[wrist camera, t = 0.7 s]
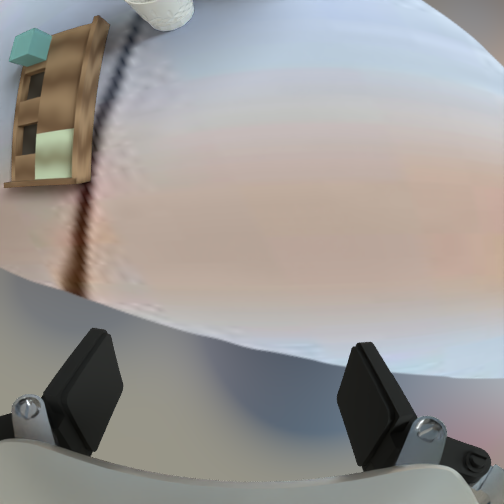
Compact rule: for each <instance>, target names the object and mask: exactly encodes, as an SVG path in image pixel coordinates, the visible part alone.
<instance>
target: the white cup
mask: <svg viewBox="0 0 504 504" xmlns="http://www.w3.org/2000/svg"><path fill="white" fill-rule="evenodd" d="M125 1H126V2H127V3H128V4H129V5H130V6H131V7H132V8H133V9H134V10H135V12H136V13H137V14H139V15H140V16H141V17H142V18H143V19H144V20H145V21H147V22H148V23H149V24H150V25H151V26H152V27H153V28H154V29H156V30H160V31H171V30H175V29H177V28H179V27H182V26H184V25H185V24H186V23H187V22H188V21H189V20H190V19H191V17H192V15H193V13H194V6H193V1H192V0H125Z"/></svg>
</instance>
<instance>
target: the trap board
mask: <svg viewBox="0 0 504 504" xmlns="http://www.w3.org/2000/svg"><path fill="white" fill-rule="evenodd" d="M109 26H110V24H108V23H107V22H106V21H105V20H104V19H103V18H101V17H100V16H99V15H98V16H94V19H93V22H92V23H91V24H87V25H83V26H80V27H76V28H73V29H69V30H66V31H63V32H60V33H57V34H54V35H51V36H52V39H51V42H50V46H49V50H48V55H47V59H46V61H43V62H40V63H37V64H34V65H31V66H28V67H26V66H23V68H22V73H21V78H20V83H19V89H18V95H17V102H16V109H15V118H14V128H13V141H12V181H11V182H6V183H4V188H11V187H25V186H42V185H66V184H80V183H85V182H90V181H91V150H92V134H93V122H94V112H95V103H96V95H97V88H98V81H99V75H100V69H101V63H102V58H103V53H104V48H105V43H106V39H107V35H108V30H109Z"/></svg>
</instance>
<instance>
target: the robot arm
mask: <svg viewBox="0 0 504 504" xmlns="http://www.w3.org/2000/svg"><path fill="white" fill-rule="evenodd" d="M122 391H123V382H122V378H121V375H120V371H119V368H118V363H117V359H116V356H115V351H114V347H113V343H112V338H111V335H110V334H108V333H107V331H106V330H103V329H97V328H92V329H90V331H89V332H88V333H87V335H86V336H85V337H84V338H83V340H82V341H81V342H80V344H79V345H78V346H77V347H76V349H75V350H74V351H73V353H72V354H71V355H70V357H69V358H68V359H67V361H66V362H65V363H64V365H63V366H62V368H61V369H60V370H59V371H58V373H57V374H56V375H55V377H54V378H53V380H52V381H51V383H50V384H49V385H48V387H47V388H46V390H45V391H44V392H43V396H42V397H41V398H40V397H39V396H37V395H33V394H27V395H23V396H21V397H19V398H18V399H16V401H15V402H14V403H13V405H12V411H11V412H12V413H10V414H6V415H3V416H0V504H504V469H502V468H501V467H499V466H498V465H496V464H495V465H494V466H491V459H490V457H489V455H488V453H487V452H486V451H485V450H483V449H481V448H478V447H475V446H472V445H469V444H466V443H463V442H461V441H458V440H455V439H452V438H450V437H447V429H446V426H445V425H444V424H443V422H441V421H440V420H439V419H437V418H435V417H431V416H422V417H419V418H417V416H416V414H415V412H414V411H413V409H412V407H411V405H410V403H409V402H408V400H407V398H406V396H405V395H404V393H403V391H402V390H401V388H400V386H399V385H398V383H397V381H396V380H395V378H394V376H393V375H392V373H391V372H390V370H389V369H388V367H387V365H386V364H385V362H384V360H383V359H382V357H381V356H380V354H379V352H378V351H377V349H376V347H375V346H374V344H373V343H372V342H362V343H357V344H356V346H355V347H352V349H351V353H350V356H349V359H348V363H347V366H346V369H345V373H344V376H343V379H342V382H341V386H340V388H339V391H338V394H337V403H338V406H339V409H340V412H341V415H342V418H343V421H344V424H345V427H346V430H347V434H348V437H349V439H350V443H351V446H352V449H353V452H354V455H355V458H356V462H357V465H358V466H362V468H363V472H361V473H355V474H349V475H342V476H334V477H327V478H318V479H308V480H295V481H274V482H240V481H238V482H237V481H219V480H206V479H196V478H187V477H179V476H173V475H166V474H160V473H155V472H149V471H144V470H140V469H135V468H130V467H126V466H122V465H118V464H114V463H110V462H107V461H103V460H99V459H96V458H93V457H91V454H92V452H95V451H96V450H97V449H98V446H99V444H100V441H101V439H102V437H103V434H104V432H105V430H106V427H107V425H108V423H109V420H110V418H111V416H112V413H113V411H114V409H115V407H116V404H117V402H118V400H119V398H120V396H121V393H122Z"/></svg>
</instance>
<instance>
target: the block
mask: <svg viewBox="0 0 504 504" xmlns="http://www.w3.org/2000/svg"><path fill="white" fill-rule="evenodd" d="M51 39H52V36H51V35H49V34H47V33H45V32H43V31H41V30H39V29H36V28H33V29H31V30H29V31H26V32H24V33H22V34H20V35H18V36H16V37H15V40H14V43H13V47H12V51H11V55H10V58H9V62H12V63H16V64H19V65H22V66H26V67H28V66H31V65H34V64H37V63H40V62H43V61H46V59H47V55H48V50H49V46H50V42H51Z"/></svg>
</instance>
